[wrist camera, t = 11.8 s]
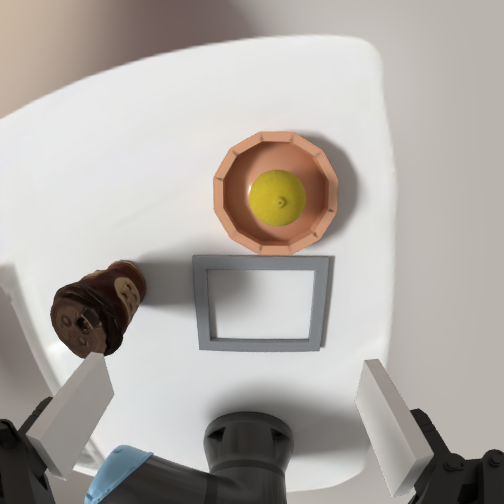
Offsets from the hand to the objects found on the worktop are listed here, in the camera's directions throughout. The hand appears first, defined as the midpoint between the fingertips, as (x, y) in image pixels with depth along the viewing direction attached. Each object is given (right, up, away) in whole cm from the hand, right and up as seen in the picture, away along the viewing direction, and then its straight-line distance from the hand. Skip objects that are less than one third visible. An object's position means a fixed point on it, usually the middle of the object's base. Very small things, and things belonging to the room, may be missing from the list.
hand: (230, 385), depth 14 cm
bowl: (+4, +13, +20) cm, 24 cm away
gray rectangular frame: (+2, 0, +24) cm, 24 cm away
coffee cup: (-15, +2, +24) cm, 29 cm away
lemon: (+4, +13, +20) cm, 24 cm away
